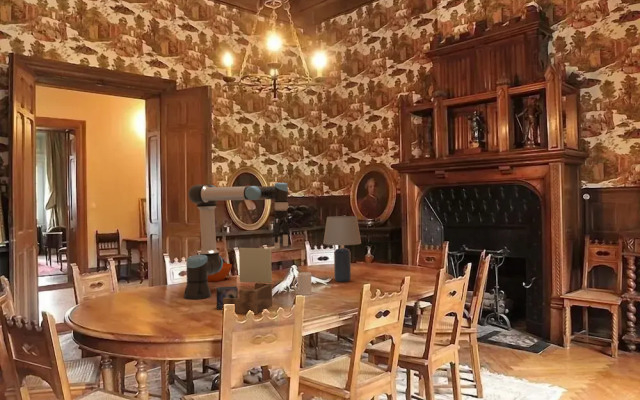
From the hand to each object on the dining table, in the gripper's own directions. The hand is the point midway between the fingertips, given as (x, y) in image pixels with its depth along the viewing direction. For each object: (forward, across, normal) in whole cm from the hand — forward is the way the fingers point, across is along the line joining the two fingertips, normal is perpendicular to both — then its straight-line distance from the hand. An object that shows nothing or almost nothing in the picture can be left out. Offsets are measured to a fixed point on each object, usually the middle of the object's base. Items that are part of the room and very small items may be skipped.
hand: (281, 247), depth 291 cm
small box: (+29, -33, +18) cm, 47 cm away
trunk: (+28, -33, +6) cm, 44 cm away
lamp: (+28, +58, -22) cm, 68 cm away
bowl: (+29, +44, +67) cm, 85 cm away
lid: (+7, -24, +6) cm, 26 cm away
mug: (+28, +10, -9) cm, 32 cm away
